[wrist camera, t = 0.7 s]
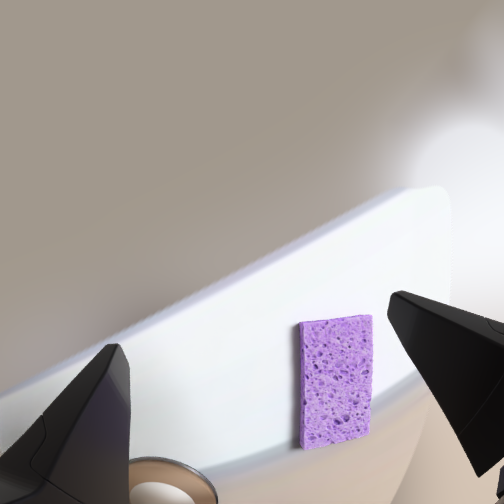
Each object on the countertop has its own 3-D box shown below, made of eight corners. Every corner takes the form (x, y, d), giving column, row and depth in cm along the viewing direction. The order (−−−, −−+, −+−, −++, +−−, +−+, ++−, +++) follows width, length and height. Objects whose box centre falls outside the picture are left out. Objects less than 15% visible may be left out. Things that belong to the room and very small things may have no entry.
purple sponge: (297, 442, 23) (303, 450, 21) (296, 319, 25) (302, 320, 23) (361, 429, 23) (370, 435, 22) (364, 314, 26) (373, 313, 24)
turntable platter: (232, 517, 19) (233, 526, 17) (147, 531, 17) (145, 538, 15) (187, 449, 20) (186, 457, 19) (97, 466, 18) (92, 472, 17)
